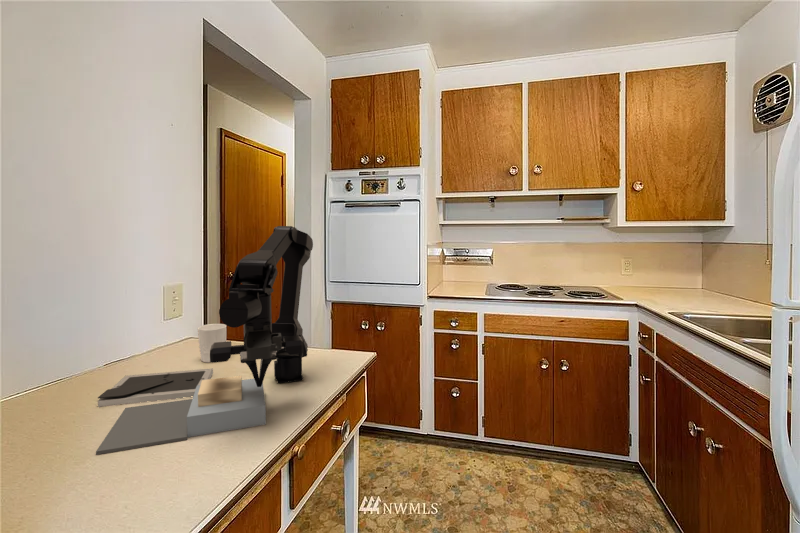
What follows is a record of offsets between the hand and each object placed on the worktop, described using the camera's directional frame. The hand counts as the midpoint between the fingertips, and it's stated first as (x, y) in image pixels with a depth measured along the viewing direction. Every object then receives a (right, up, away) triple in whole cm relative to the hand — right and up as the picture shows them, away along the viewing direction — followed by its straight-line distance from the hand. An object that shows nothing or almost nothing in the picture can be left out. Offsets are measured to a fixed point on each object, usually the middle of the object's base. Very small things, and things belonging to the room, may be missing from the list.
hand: (259, 386), depth 86 cm
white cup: (-26, -2, +33) cm, 42 cm away
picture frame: (-28, -5, +11) cm, 31 cm away
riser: (-6, -5, -2) cm, 8 cm away
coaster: (-7, -1, -3) cm, 8 cm away
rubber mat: (-19, -6, -7) cm, 21 cm away
